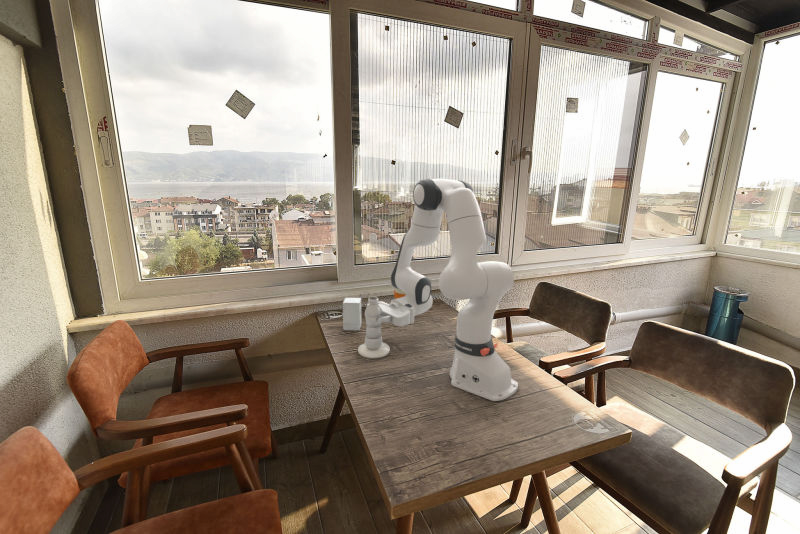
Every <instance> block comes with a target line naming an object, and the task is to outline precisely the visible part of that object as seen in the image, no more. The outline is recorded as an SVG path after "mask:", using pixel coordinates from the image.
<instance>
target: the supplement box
mask: <svg viewBox="0 0 800 534" xmlns="http://www.w3.org/2000/svg"><path fill="white" fill-rule="evenodd" d="M342 323H343V324H342V326H343V327H342V330H343V331H357V330H358V331H361V326H362V297H345V298H344V299H343V302H342Z"/></svg>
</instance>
